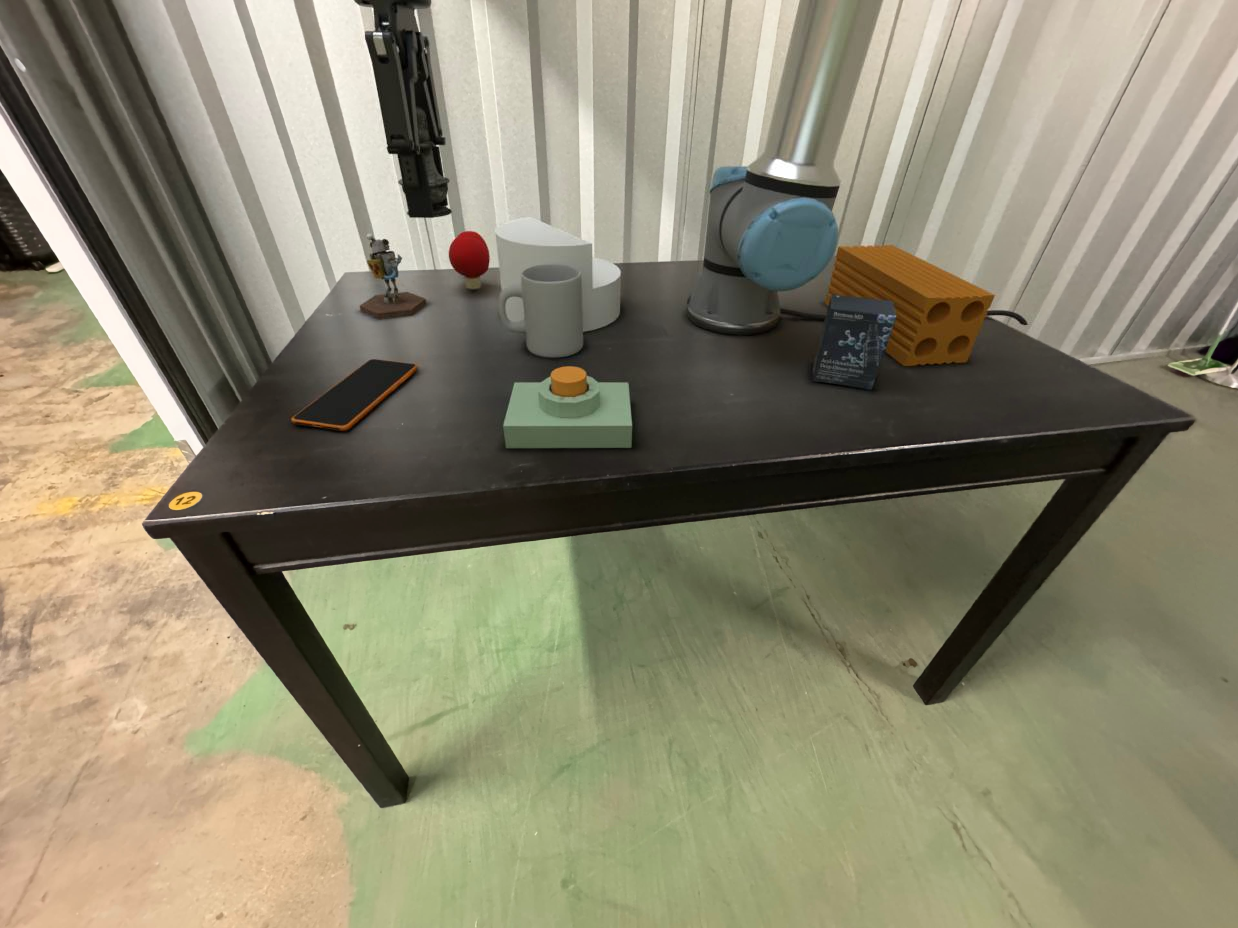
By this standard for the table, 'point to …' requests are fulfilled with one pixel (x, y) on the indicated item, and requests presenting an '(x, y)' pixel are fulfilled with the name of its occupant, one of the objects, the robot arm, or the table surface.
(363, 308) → the robot figurine
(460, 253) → the red mushroom
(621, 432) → the green button housing
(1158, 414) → the table surface
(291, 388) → the table surface
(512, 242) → the container
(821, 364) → the box
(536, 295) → the mug
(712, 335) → the table surface
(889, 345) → the brick
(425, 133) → the salt shaker
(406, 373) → the smartphone
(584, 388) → the orange push button
